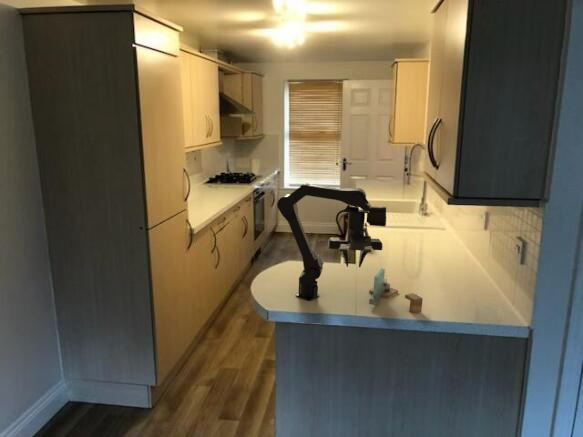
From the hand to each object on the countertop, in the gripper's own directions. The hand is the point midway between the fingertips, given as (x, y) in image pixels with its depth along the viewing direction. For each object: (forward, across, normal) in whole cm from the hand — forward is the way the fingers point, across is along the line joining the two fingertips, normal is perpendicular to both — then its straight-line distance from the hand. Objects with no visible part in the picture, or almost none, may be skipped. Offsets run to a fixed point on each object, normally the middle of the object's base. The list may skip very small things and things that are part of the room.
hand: (353, 266), depth 163 cm
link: (+11, +10, +2) cm, 16 cm away
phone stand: (+13, +15, +72) cm, 75 cm away
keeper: (+13, +21, -7) cm, 25 cm away
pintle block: (+13, +13, +8) cm, 20 cm away
